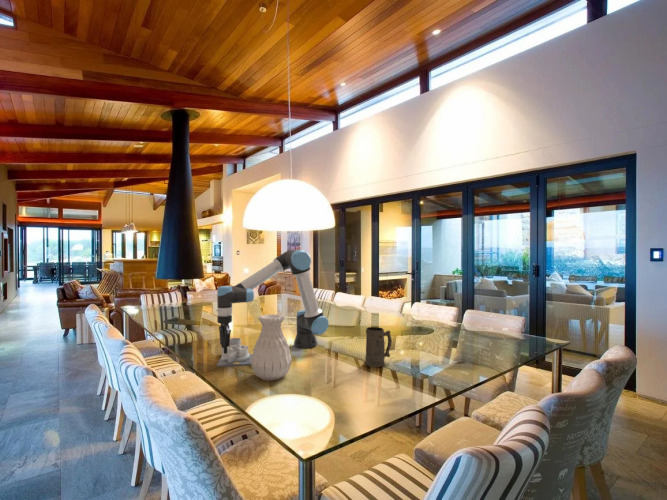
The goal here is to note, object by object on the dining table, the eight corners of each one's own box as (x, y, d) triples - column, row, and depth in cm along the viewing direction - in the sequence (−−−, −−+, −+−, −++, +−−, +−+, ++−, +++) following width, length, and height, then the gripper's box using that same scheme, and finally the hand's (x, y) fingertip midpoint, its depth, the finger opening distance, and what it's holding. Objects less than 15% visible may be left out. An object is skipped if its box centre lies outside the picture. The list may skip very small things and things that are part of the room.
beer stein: (370, 368, 190) (373, 330, 191) (360, 362, 200) (362, 326, 200) (394, 366, 197) (396, 329, 198) (382, 360, 207) (385, 325, 207)
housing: (257, 355, 213) (257, 342, 213) (254, 365, 195) (254, 351, 195) (222, 356, 210) (222, 344, 210) (216, 366, 192) (216, 352, 192)
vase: (273, 387, 164) (273, 322, 164) (242, 379, 175) (242, 317, 174) (299, 374, 181) (299, 315, 181) (270, 367, 192) (270, 311, 191)
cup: (239, 356, 212) (239, 341, 212) (222, 356, 212) (222, 340, 212) (242, 352, 219) (242, 337, 219) (226, 352, 219) (226, 337, 219)
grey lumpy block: (231, 351, 208) (231, 344, 208) (249, 351, 208) (249, 344, 208) (219, 362, 188) (219, 355, 188) (240, 362, 188) (240, 355, 188)
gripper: (213, 314, 196) (214, 357, 196) (221, 317, 185) (221, 363, 185) (227, 312, 200) (227, 354, 200) (235, 316, 189) (235, 360, 189)
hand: (224, 358), depth 193 cm, fingers closed
